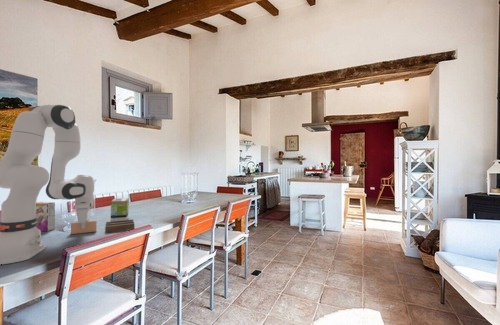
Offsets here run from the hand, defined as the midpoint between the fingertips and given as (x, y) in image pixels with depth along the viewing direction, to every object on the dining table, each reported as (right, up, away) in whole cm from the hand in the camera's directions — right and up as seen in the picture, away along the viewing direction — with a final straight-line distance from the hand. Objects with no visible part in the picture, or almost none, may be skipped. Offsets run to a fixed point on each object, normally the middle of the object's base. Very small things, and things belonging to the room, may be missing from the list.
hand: (84, 227), depth 136 cm
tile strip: (0, -3, 0) cm, 3 cm away
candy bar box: (-28, -3, +4) cm, 28 cm away
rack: (+16, -3, +9) cm, 18 cm away
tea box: (+4, -3, +29) cm, 30 cm away
